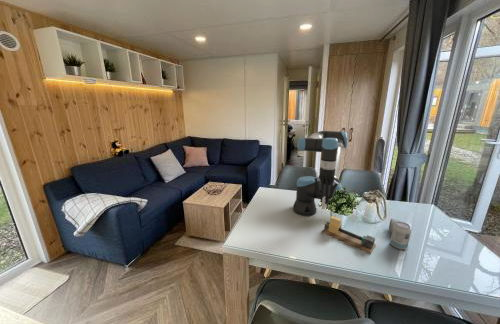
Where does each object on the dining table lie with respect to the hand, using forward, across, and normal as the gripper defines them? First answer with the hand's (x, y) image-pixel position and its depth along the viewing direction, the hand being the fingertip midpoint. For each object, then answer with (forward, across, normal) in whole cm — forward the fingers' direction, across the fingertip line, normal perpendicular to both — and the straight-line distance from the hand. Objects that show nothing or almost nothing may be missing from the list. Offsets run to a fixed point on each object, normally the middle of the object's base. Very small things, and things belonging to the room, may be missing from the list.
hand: (323, 208), depth 112 cm
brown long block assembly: (+13, +14, 0) cm, 19 cm away
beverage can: (+13, +34, +12) cm, 38 cm away
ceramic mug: (+13, +31, +25) cm, 42 cm away
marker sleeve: (+11, +7, 0) cm, 13 cm away
